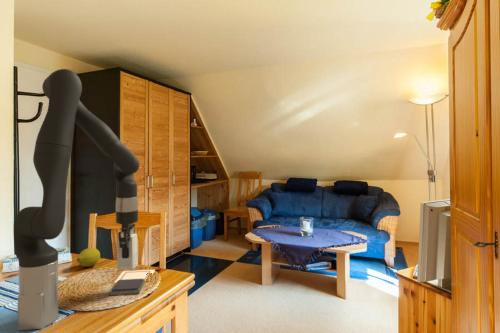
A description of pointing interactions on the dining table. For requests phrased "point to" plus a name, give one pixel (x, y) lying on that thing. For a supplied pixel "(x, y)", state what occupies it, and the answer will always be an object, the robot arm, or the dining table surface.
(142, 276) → the paper sheet
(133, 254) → the skincare box
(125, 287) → the pad
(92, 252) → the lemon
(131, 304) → the dining table surface
